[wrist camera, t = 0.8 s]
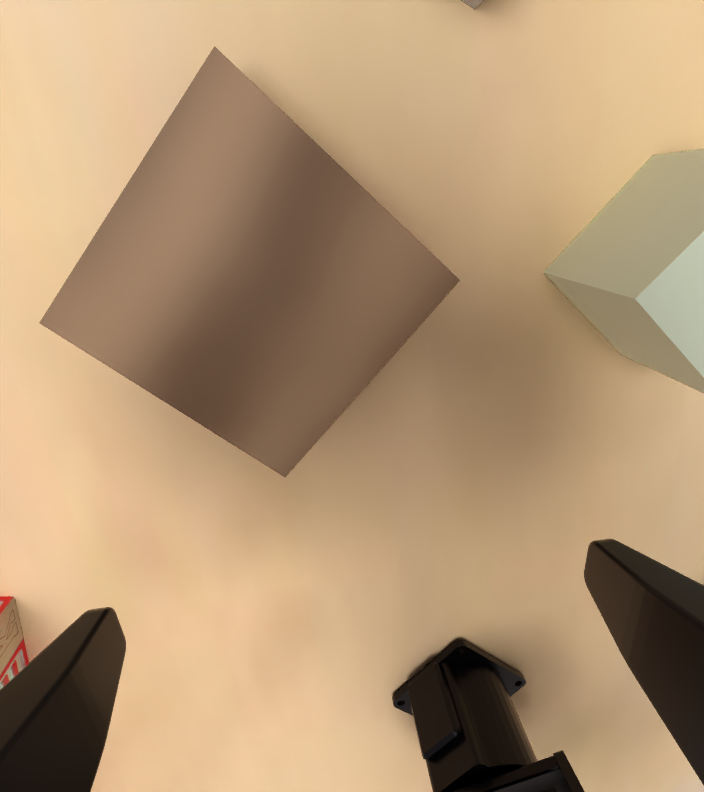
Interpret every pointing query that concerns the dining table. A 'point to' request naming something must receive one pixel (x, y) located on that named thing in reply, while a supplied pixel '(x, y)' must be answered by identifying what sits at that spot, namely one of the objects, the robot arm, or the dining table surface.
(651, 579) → the robot arm
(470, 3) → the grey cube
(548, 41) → the dining table surface
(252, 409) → the walnut block
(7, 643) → the stack of blocks
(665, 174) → the sage cube
